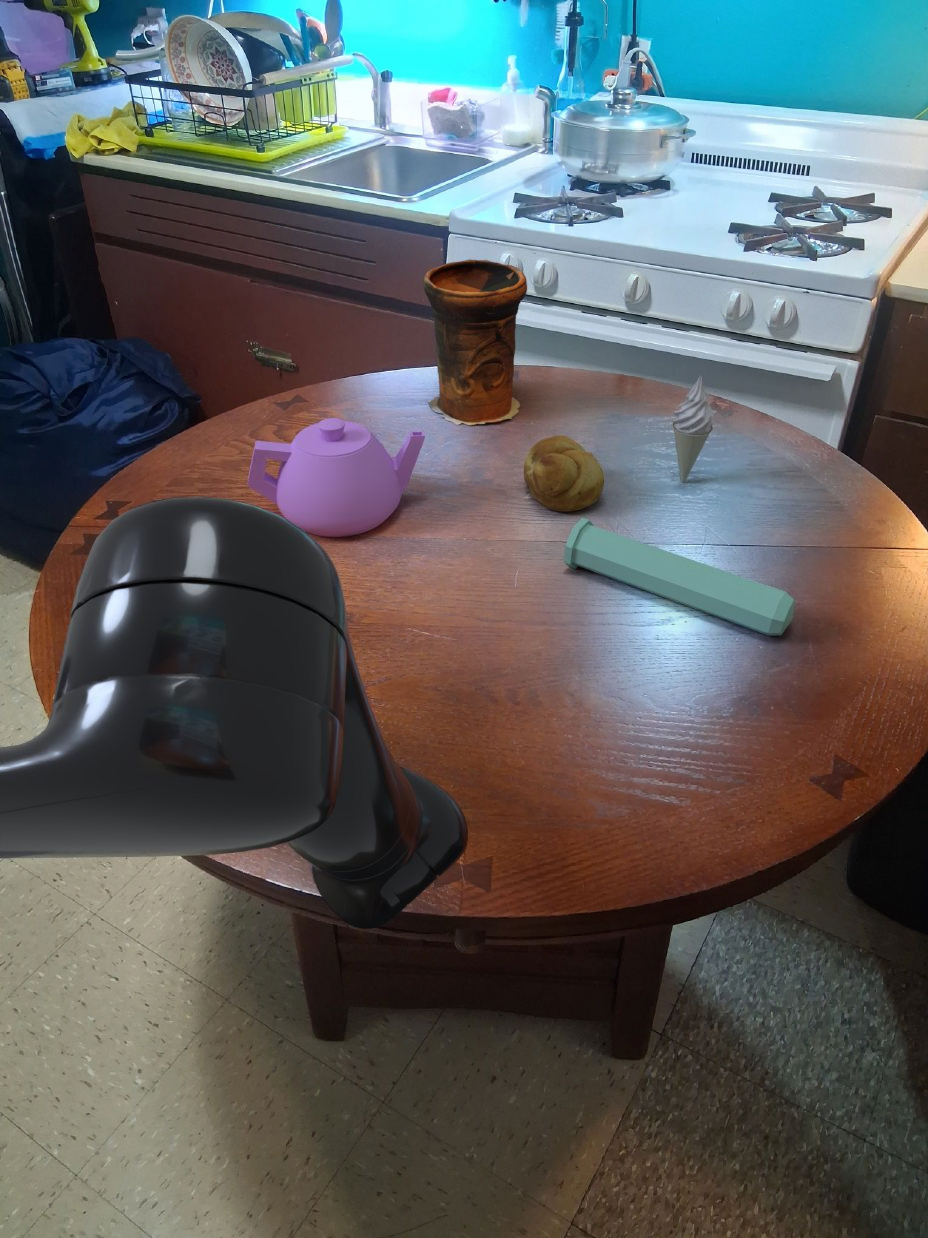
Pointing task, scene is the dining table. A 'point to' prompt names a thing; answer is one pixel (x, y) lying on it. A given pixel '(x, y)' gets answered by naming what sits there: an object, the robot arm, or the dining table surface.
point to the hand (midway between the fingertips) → (197, 603)
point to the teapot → (335, 477)
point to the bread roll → (563, 474)
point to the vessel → (475, 338)
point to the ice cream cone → (692, 428)
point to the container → (680, 579)
